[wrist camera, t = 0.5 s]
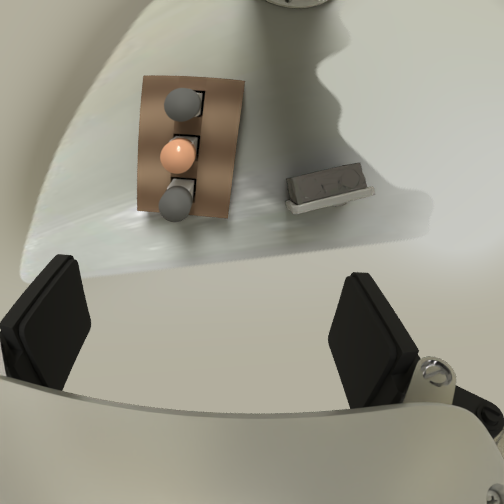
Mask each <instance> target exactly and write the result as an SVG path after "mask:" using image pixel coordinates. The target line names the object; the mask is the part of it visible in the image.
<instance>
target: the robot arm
mask: <svg viewBox="0 0 504 504" xmlns="http://www.w3.org/2000/svg"><path fill="white" fill-rule="evenodd" d="M266 1H268V2H270V3H273V4H276V5H279V6H283V7H288V8H309V7H313V6H317V5H320V4H322V3H324V2H326V1H327V0H287V1H289V3H286V2H285V0H266ZM90 328H91V319H90V315H89V312H88V307H87V303H86V299H85V295H84V290H83V285H82V280H81V275H80V270H79V265H78V262H77V260H74V258H73V256H71V255H61V254H57V255H56V256H55V257H54V258H53V259H52V260H51V261H50V263H49V264H48V265H47V266H46V267H45V268H44V269H43V270H42V272H41V273H40V274H39V275H38V276H37V277H36V278H35V280H34V281H33V282H32V283H31V284H30V285H29V287H28V288H27V289H26V290H25V292H24V293H23V294H22V295H21V296H20V298H19V299H18V300H17V301H16V303H15V304H14V305H13V306H12V308H11V309H10V310H9V312H8V313H7V314H6V316H5V317H4V318H3V319H2V321H1V323H0V329H1V331H0V504H504V417H503V414H502V412H501V411H500V409H499V408H498V407H497V406H496V405H494V404H493V403H491V402H489V401H487V400H485V399H483V398H481V397H479V396H477V395H475V394H472V393H471V392H468V391H466V390H464V389H462V388H460V387H458V386H456V374H455V372H454V370H453V369H452V367H451V366H450V365H449V364H448V363H447V362H445V361H444V360H442V359H440V358H436V357H430V356H428V357H424V358H422V359H420V357H419V356H418V352H419V350H418V348H417V346H416V345H415V343H414V342H413V340H412V338H411V337H410V335H409V333H408V332H407V330H406V329H405V327H404V326H403V324H402V322H401V321H400V319H399V318H398V316H397V315H396V313H395V311H394V310H393V308H392V307H391V305H390V304H389V302H388V301H387V299H386V298H385V296H384V295H383V293H382V292H381V290H380V289H379V287H378V286H377V284H376V283H375V281H374V280H373V278H372V277H371V276H370V274H369V273H358V272H357V273H356V272H353V273H352V274H351V275H350V276H348V277H346V279H345V282H344V286H343V289H342V293H341V296H340V300H339V303H338V306H337V310H336V313H335V316H334V319H333V322H332V326H331V329H330V332H329V335H328V343H329V347H330V349H331V352H332V355H333V358H334V361H335V364H336V367H337V370H338V373H339V376H340V379H341V382H342V384H343V388H344V391H345V394H346V397H347V400H348V403H349V406H350V409H345V410H332V411H321V412H303V413H279V414H278V413H275V414H242V413H238V414H237V413H213V412H195V411H184V410H172V409H163V408H155V407H146V406H139V405H132V404H125V403H119V402H113V401H107V400H102V399H97V398H92V397H87V396H82V395H77V394H73V393H68V392H64V391H62V390H63V388H64V385H65V383H66V381H67V378H68V376H69V374H70V371H71V369H72V367H73V364H74V362H75V360H76V358H77V356H78V354H79V351H80V349H81V347H82V345H83V343H84V341H85V339H86V337H87V335H88V333H89V331H90Z"/></svg>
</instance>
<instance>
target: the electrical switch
mask: <svg viewBox="0 0 504 504" xmlns="http://www.w3.org/2000/svg"><path fill="white" fill-rule="evenodd" d="M286 180H287V184H288V191H289V194H290V198H291V200H288V201H285V203H286V206H287V208H288V209H289V210H290V211H291V212H292V213H293V214H300V213H304V212H308V211H312V210H316V209H320V208H324V207H328V206H335V207H336V206H341V205H344V204H346V202H348V201H352V200H356V199H360V198H365V197H369V196H373V195H374V194H375V191H374V187H369V188H368V187H367V185H366V181H365V177H364V175H363V173H362V168H361V164H360V163H354V164H348V165H342V166H339V167H334V168H330V169H326V170H321V171H317V172H313V173H309V174H305V175H301V176H296V177H292V178H288V179H286Z"/></svg>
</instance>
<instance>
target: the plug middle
mask: <svg viewBox="0 0 504 504" xmlns="http://www.w3.org/2000/svg"><path fill="white" fill-rule="evenodd" d="M197 141H198V137H187V136H176V137H174V138H173V139H171V140H170V141H169V143H168V144H166V145H165V146H164V147H163V149H162V151H161V154H160V160H161V163H162V165H163V167H164V168H165V169H166V170H167V171H169V172H171V173H174V174H180V173H183V172H185V171H187V170H188V169H189V168H190V167H191V166H192V164H193V162H194V161H195V159H196V152H197Z"/></svg>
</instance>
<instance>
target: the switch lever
mask: <svg viewBox="0 0 504 504" xmlns="http://www.w3.org/2000/svg"><path fill="white" fill-rule="evenodd" d="M202 94H203V93H197V92H195V91H194V90H192V89H188V88H178V89H175V90H173V91H171V92H170V93H169V94H168V95H167V97H166V99H165V102H164V109H165V112H166V114H167V116H168V117H169V118H171V119H172V120H174V121H178V122H184V121H187V120H189V119H191V118H193V117H196V116H198V115H200V112H201V103H202Z"/></svg>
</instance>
